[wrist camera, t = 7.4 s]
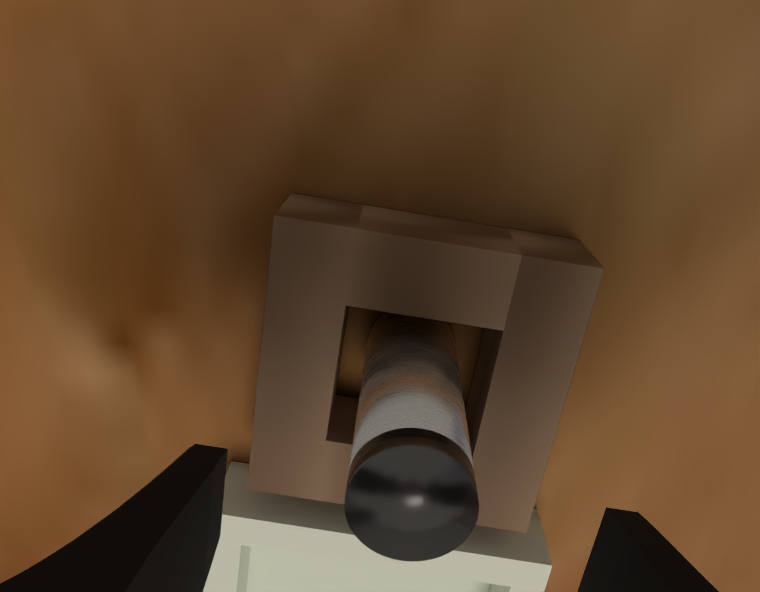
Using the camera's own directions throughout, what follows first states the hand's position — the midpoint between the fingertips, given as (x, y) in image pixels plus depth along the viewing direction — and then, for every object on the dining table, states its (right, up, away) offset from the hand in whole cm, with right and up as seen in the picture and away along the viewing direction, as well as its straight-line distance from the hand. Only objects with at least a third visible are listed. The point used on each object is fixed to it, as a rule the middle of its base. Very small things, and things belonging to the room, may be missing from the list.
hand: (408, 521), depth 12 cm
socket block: (0, +3, +7) cm, 8 cm away
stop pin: (0, +3, +7) cm, 8 cm away
